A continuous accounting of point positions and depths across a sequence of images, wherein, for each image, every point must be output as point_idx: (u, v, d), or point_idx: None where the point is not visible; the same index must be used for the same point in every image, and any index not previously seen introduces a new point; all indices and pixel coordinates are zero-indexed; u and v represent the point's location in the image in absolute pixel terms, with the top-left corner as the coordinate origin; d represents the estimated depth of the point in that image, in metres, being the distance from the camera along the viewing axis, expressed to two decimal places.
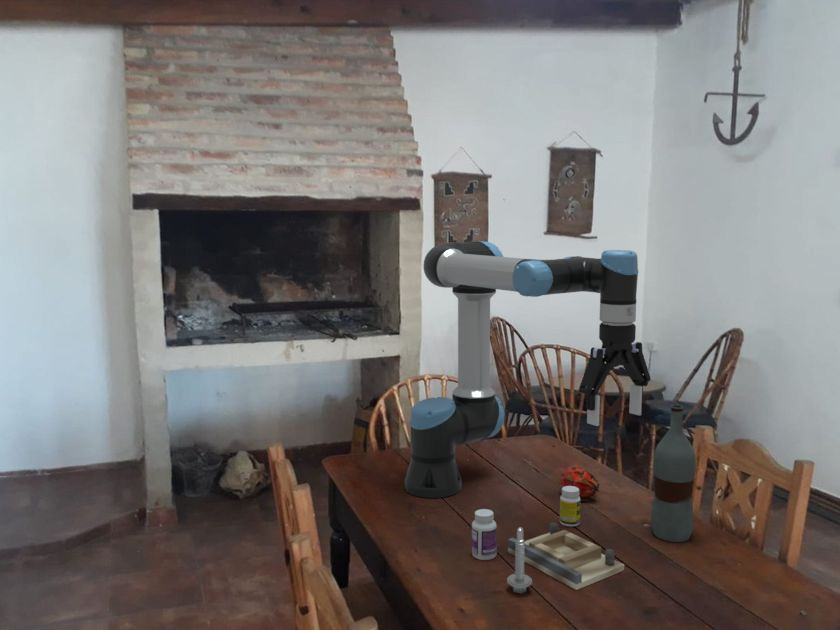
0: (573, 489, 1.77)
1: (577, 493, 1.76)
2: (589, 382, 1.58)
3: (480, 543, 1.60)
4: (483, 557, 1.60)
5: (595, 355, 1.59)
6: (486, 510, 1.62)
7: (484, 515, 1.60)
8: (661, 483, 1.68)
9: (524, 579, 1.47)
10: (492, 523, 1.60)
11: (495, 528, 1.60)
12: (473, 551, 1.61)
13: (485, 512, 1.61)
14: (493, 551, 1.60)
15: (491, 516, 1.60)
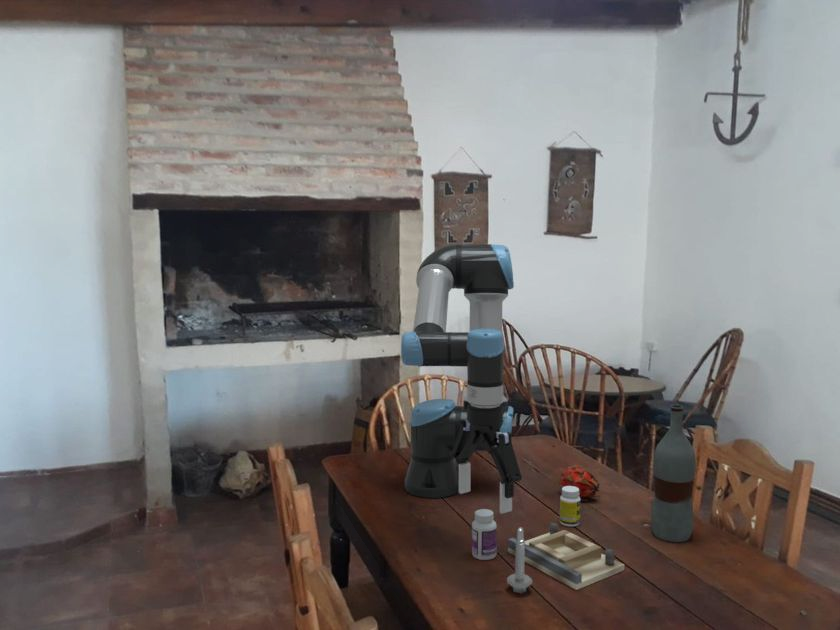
0: (573, 489, 1.77)
1: (577, 493, 1.76)
2: None
3: (480, 543, 1.60)
4: (483, 557, 1.60)
5: None
6: (486, 510, 1.62)
7: (484, 515, 1.60)
8: (661, 483, 1.68)
9: (524, 579, 1.47)
10: (492, 523, 1.60)
11: (495, 528, 1.60)
12: (473, 551, 1.61)
13: (485, 512, 1.61)
14: (493, 551, 1.60)
15: (491, 516, 1.60)
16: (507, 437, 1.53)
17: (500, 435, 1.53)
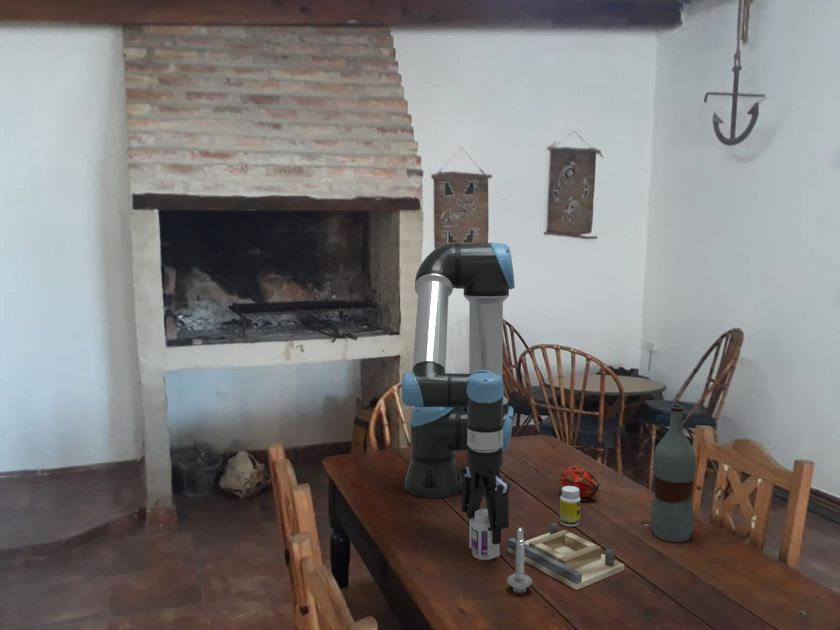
0: (573, 489, 1.77)
1: (577, 493, 1.76)
2: None
3: (480, 543, 1.60)
4: (483, 557, 1.60)
5: None
6: (486, 510, 1.62)
7: (484, 515, 1.60)
8: (661, 483, 1.68)
9: (524, 579, 1.47)
10: None
11: None
12: (473, 551, 1.61)
13: (485, 512, 1.61)
14: None
15: None
16: (506, 489, 1.55)
17: (500, 487, 1.54)
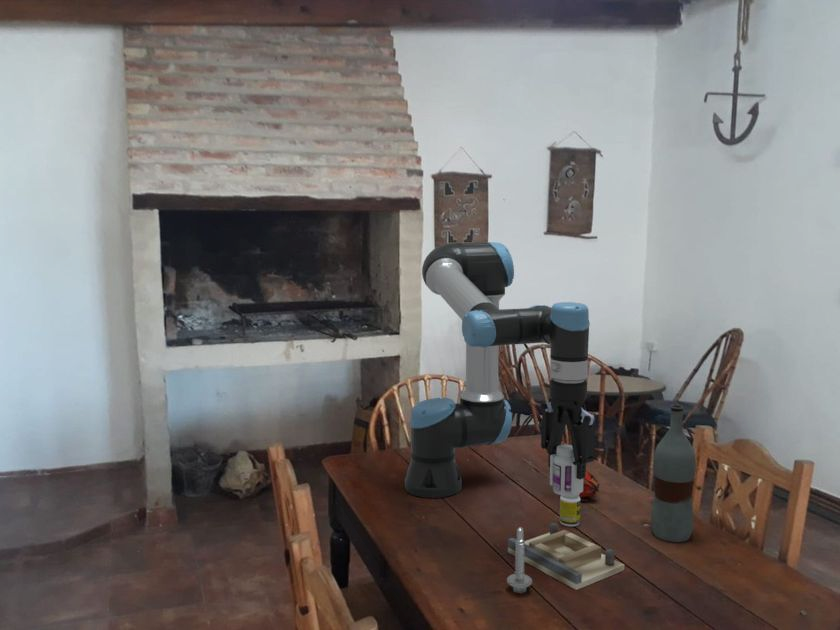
0: None
1: None
2: None
3: (563, 478, 1.54)
4: (566, 493, 1.55)
5: None
6: (568, 446, 1.57)
7: (567, 450, 1.54)
8: (661, 483, 1.68)
9: (524, 579, 1.47)
10: None
11: None
12: (555, 487, 1.56)
13: (568, 447, 1.56)
14: None
15: None
16: (592, 420, 1.50)
17: (587, 418, 1.49)
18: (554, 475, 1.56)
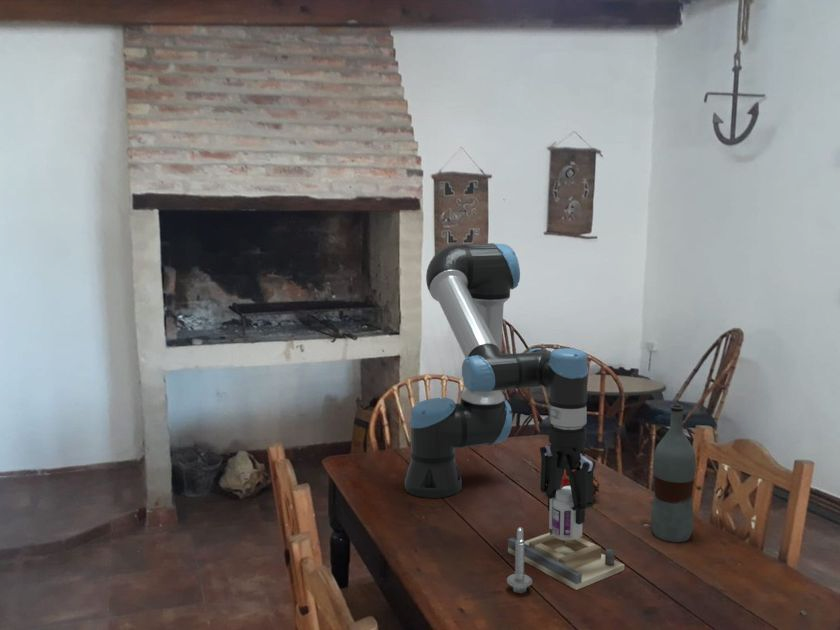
0: None
1: None
2: None
3: (563, 523, 1.56)
4: (565, 537, 1.56)
5: None
6: (567, 490, 1.58)
7: (566, 495, 1.56)
8: (661, 483, 1.68)
9: (524, 579, 1.47)
10: None
11: None
12: (554, 531, 1.57)
13: (567, 492, 1.57)
14: None
15: None
16: (591, 466, 1.51)
17: (585, 464, 1.50)
18: (553, 519, 1.58)
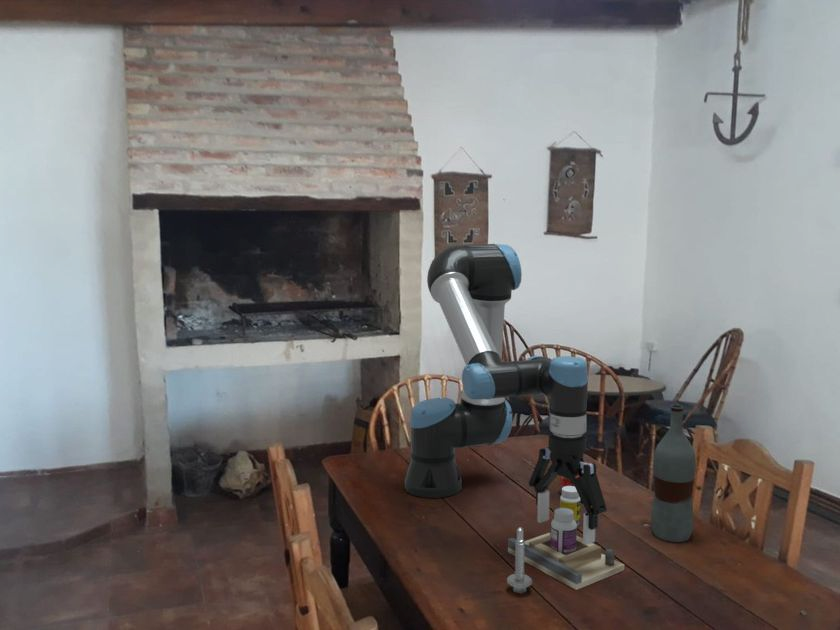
0: (573, 489, 1.77)
1: (577, 493, 1.76)
2: None
3: (561, 543, 1.57)
4: None
5: None
6: (565, 509, 1.59)
7: (564, 514, 1.57)
8: (661, 483, 1.68)
9: (524, 579, 1.47)
10: (572, 522, 1.57)
11: (576, 527, 1.58)
12: None
13: (565, 511, 1.58)
14: (573, 551, 1.57)
15: (572, 515, 1.57)
16: (592, 468, 1.51)
17: (585, 466, 1.51)
18: (552, 539, 1.59)
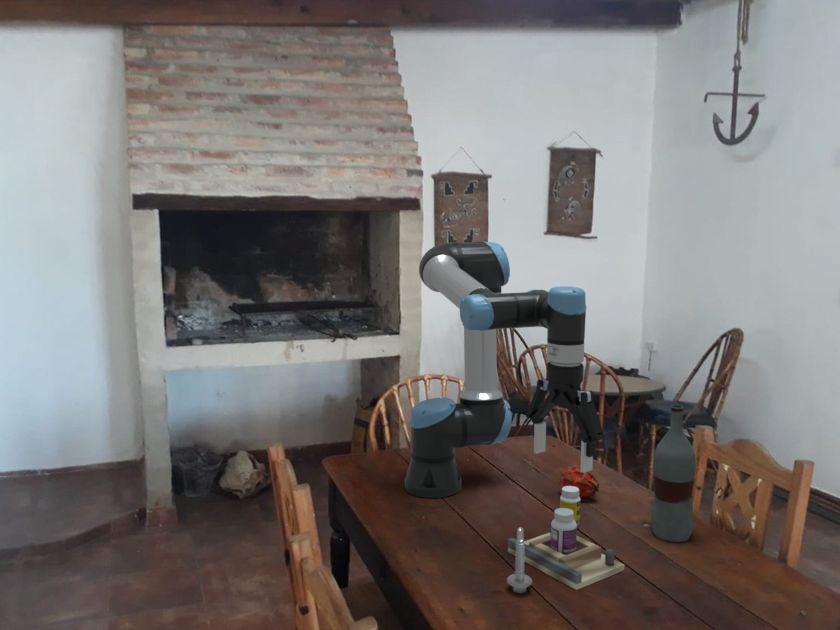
0: (573, 489, 1.77)
1: (577, 493, 1.76)
2: None
3: (561, 543, 1.57)
4: None
5: None
6: (565, 509, 1.59)
7: (565, 514, 1.57)
8: (661, 483, 1.68)
9: (524, 579, 1.47)
10: (572, 522, 1.57)
11: (576, 527, 1.58)
12: None
13: (565, 511, 1.58)
14: (573, 551, 1.57)
15: (572, 515, 1.57)
16: (589, 396, 1.51)
17: (583, 393, 1.51)
18: (552, 539, 1.59)
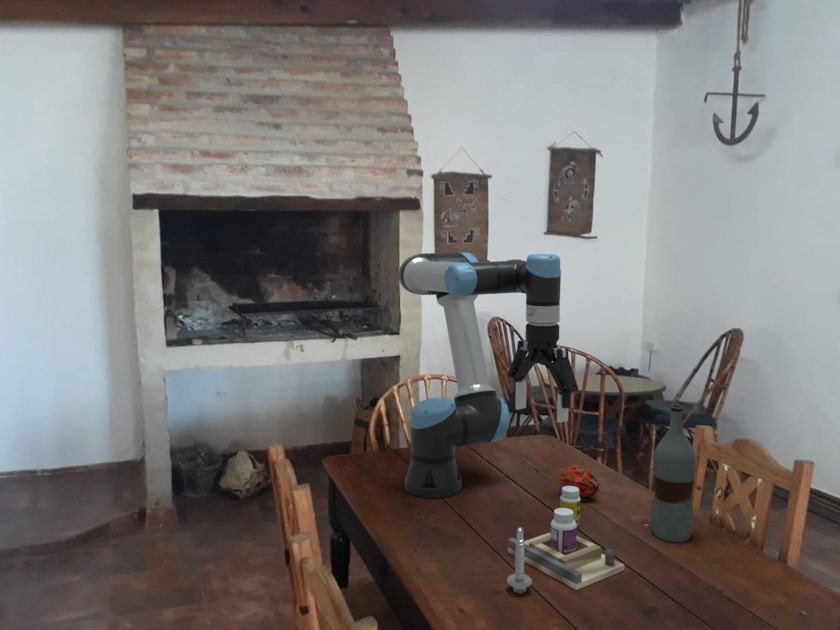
0: (573, 489, 1.77)
1: (577, 493, 1.76)
2: None
3: (561, 542, 1.57)
4: None
5: None
6: (565, 509, 1.59)
7: (564, 514, 1.57)
8: (661, 483, 1.68)
9: (524, 579, 1.47)
10: (572, 522, 1.58)
11: (575, 527, 1.58)
12: None
13: (565, 511, 1.58)
14: (573, 550, 1.58)
15: (572, 515, 1.57)
16: (564, 352, 1.66)
17: (558, 350, 1.65)
18: (552, 539, 1.59)
